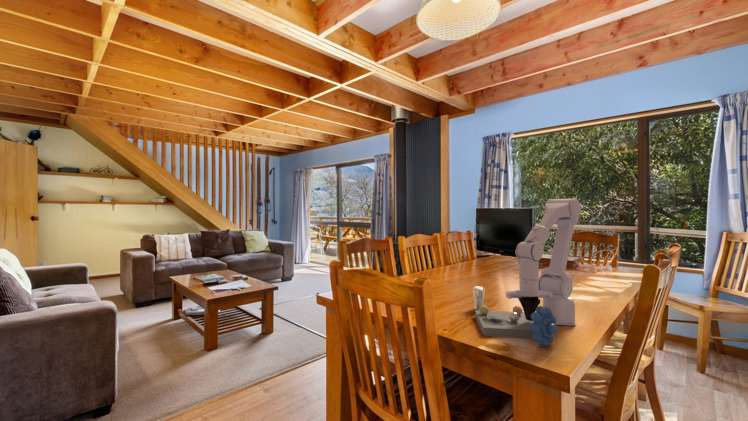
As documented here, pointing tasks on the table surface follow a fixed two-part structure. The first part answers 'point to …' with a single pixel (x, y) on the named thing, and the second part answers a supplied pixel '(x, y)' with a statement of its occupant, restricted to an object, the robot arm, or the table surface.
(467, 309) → the table surface
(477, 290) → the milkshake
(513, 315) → the steel ball
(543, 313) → the grapes
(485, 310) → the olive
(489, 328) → the board
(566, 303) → the robot arm
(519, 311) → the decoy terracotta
